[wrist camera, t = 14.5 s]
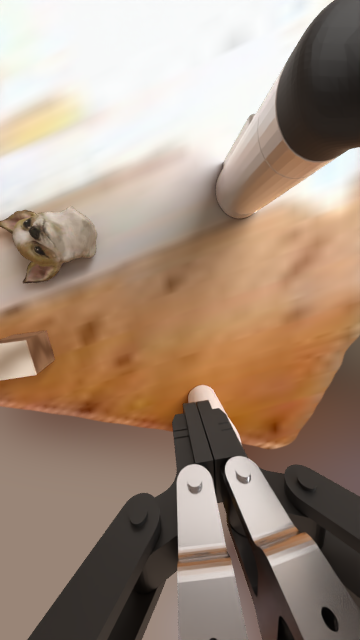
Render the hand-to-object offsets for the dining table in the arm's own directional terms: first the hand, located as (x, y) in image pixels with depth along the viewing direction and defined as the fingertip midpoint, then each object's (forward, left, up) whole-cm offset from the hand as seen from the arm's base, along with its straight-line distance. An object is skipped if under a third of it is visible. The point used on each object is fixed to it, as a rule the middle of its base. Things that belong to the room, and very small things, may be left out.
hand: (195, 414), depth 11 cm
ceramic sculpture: (-15, -17, -27) cm, 35 cm away
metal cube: (+3, -26, -21) cm, 34 cm away
